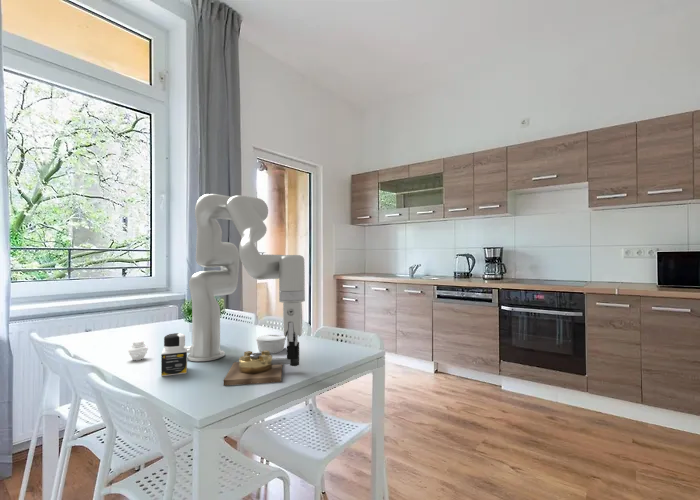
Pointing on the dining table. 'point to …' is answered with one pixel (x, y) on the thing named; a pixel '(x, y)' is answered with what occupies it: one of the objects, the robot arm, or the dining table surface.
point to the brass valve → (262, 361)
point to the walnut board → (252, 376)
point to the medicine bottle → (174, 355)
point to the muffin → (138, 350)
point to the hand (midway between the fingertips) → (292, 358)
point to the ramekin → (271, 343)
